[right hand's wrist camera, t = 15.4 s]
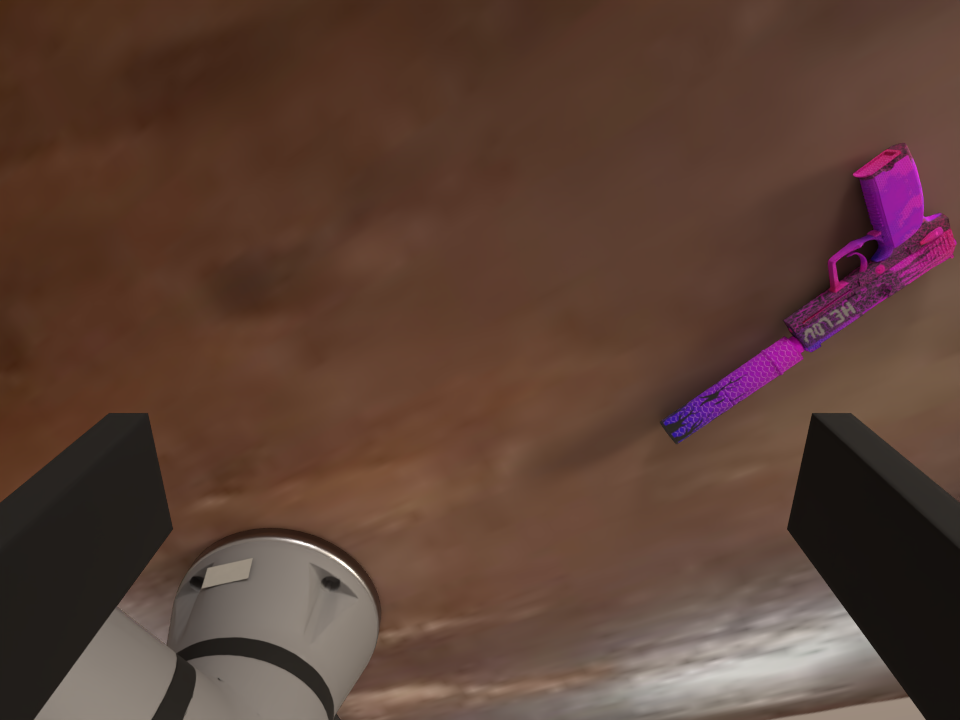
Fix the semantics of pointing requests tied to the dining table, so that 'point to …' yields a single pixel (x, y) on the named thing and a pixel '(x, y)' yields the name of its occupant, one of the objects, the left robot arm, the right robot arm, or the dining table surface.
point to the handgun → (842, 284)
